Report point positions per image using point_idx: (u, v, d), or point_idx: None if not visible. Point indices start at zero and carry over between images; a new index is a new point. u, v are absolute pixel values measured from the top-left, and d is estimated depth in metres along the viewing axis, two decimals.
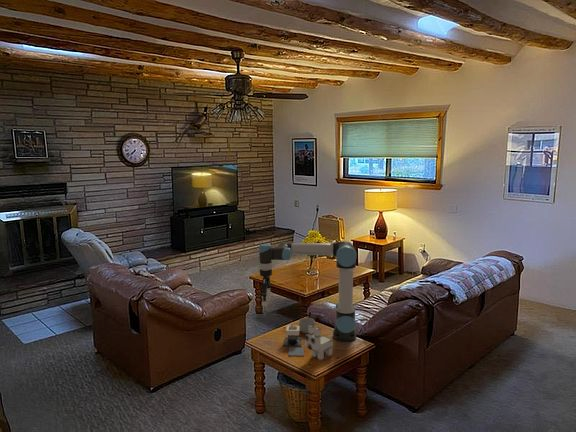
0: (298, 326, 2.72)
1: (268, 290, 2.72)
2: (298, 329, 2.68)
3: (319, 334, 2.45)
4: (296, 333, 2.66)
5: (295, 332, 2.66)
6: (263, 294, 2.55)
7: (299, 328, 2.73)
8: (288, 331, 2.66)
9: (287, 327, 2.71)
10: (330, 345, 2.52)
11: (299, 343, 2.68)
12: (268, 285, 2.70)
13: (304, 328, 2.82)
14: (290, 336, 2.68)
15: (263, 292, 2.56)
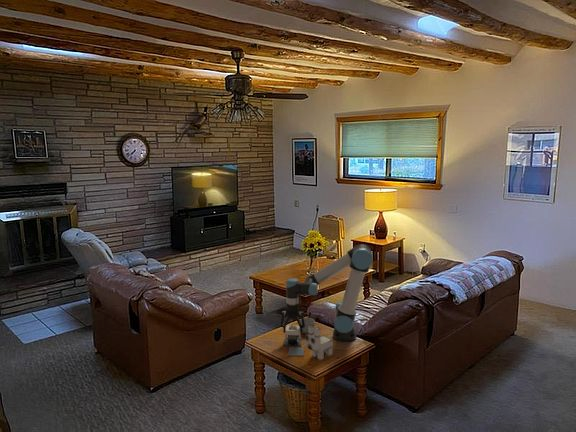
0: (298, 326, 2.72)
1: (299, 329, 2.69)
2: (298, 329, 2.68)
3: (319, 334, 2.45)
4: (296, 333, 2.66)
5: (295, 332, 2.66)
6: (281, 324, 2.70)
7: None
8: (288, 331, 2.66)
9: (287, 327, 2.71)
10: (330, 345, 2.52)
11: (299, 343, 2.68)
12: (298, 323, 2.69)
13: (304, 328, 2.82)
14: (290, 336, 2.68)
15: (281, 323, 2.70)
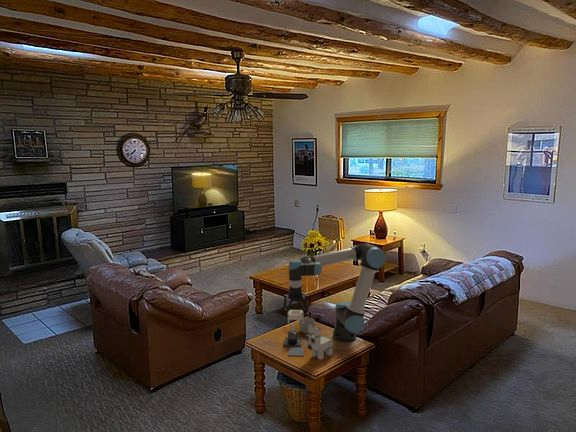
0: (301, 311, 2.57)
1: (302, 314, 2.55)
2: (301, 313, 2.53)
3: (319, 334, 2.45)
4: (299, 318, 2.51)
5: (298, 316, 2.51)
6: (283, 308, 2.56)
7: None
8: (291, 315, 2.51)
9: (290, 311, 2.56)
10: (330, 345, 2.52)
11: (299, 343, 2.68)
12: (301, 307, 2.54)
13: (304, 328, 2.82)
14: (290, 336, 2.68)
15: (283, 307, 2.55)
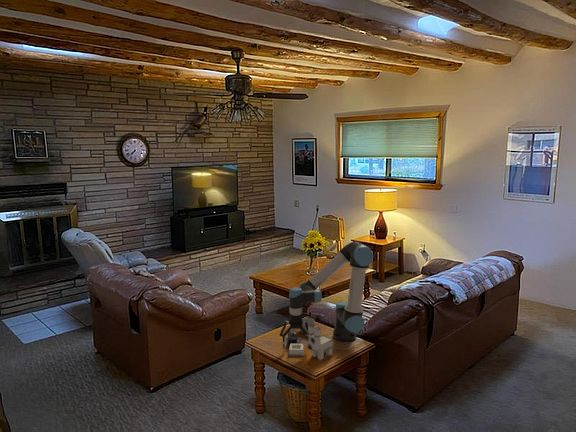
0: (302, 344, 2.61)
1: None
2: (302, 348, 2.56)
3: (319, 334, 2.45)
4: (300, 352, 2.54)
5: (299, 351, 2.54)
6: (280, 333, 2.58)
7: None
8: (291, 350, 2.55)
9: (290, 346, 2.59)
10: (330, 345, 2.52)
11: (299, 343, 2.68)
12: (304, 333, 2.56)
13: (304, 328, 2.82)
14: (290, 336, 2.68)
15: None
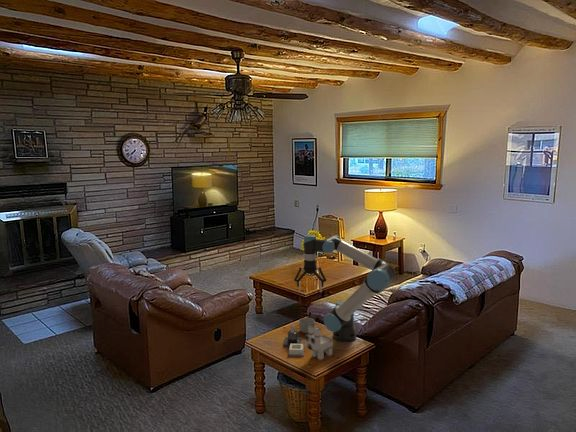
0: (302, 344, 2.61)
1: (320, 284, 2.71)
2: (302, 348, 2.56)
3: (319, 334, 2.45)
4: (300, 352, 2.54)
5: (299, 351, 2.54)
6: None
7: None
8: (291, 350, 2.55)
9: (290, 346, 2.59)
10: (330, 345, 2.52)
11: (299, 343, 2.68)
12: (318, 278, 2.70)
13: (304, 328, 2.82)
14: (290, 336, 2.68)
15: (295, 277, 2.72)
